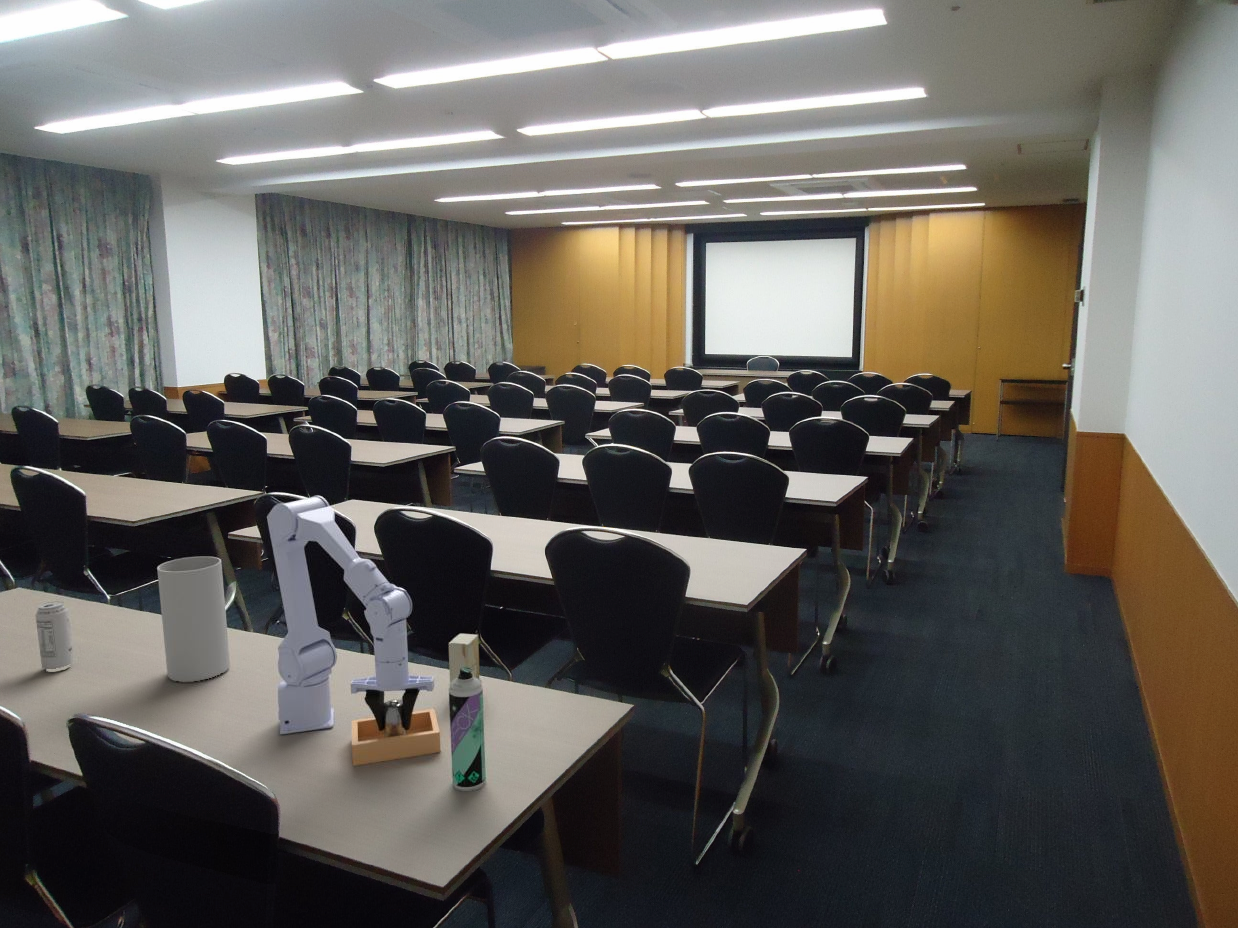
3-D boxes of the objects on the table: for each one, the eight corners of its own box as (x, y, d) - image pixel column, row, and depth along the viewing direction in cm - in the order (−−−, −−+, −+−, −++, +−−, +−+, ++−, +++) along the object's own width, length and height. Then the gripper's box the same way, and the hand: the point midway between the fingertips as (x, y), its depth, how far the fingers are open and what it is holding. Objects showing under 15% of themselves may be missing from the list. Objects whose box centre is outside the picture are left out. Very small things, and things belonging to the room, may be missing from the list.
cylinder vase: (234, 674, 184) (225, 565, 180) (171, 688, 177) (160, 575, 173) (225, 657, 194) (216, 553, 191) (164, 669, 188) (154, 562, 184)
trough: (353, 765, 145) (351, 745, 144) (352, 739, 154) (351, 720, 154) (440, 751, 149) (439, 732, 149) (435, 727, 159) (434, 708, 158)
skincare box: (469, 701, 170) (467, 644, 168) (449, 700, 171) (447, 643, 169) (480, 688, 176) (479, 633, 174) (461, 687, 177) (459, 632, 175)
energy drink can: (79, 666, 190) (72, 603, 187) (50, 675, 185) (42, 610, 182) (66, 661, 193) (59, 598, 191) (37, 669, 188) (29, 606, 186)
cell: (381, 740, 150) (379, 705, 149) (387, 730, 154) (386, 696, 153) (403, 740, 150) (402, 705, 149) (409, 730, 154) (407, 696, 153)
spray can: (454, 774, 142) (449, 663, 139) (487, 772, 142) (483, 661, 139) (450, 792, 136) (446, 676, 133) (484, 790, 137) (480, 675, 134)
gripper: (435, 647, 154) (438, 716, 156) (356, 649, 153) (360, 718, 155) (429, 662, 147) (432, 734, 149) (345, 664, 146) (350, 737, 148)
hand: (395, 727), depth 151 cm, fingers closed on cell, 4 cm apart
